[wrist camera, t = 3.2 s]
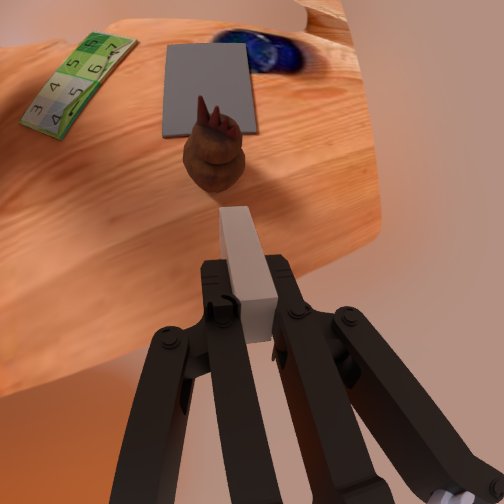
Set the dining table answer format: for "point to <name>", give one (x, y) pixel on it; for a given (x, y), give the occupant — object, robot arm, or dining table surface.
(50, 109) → the green number grid board
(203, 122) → the wooden figurine
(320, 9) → the dining table surface
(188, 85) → the charcoal rubber mat
